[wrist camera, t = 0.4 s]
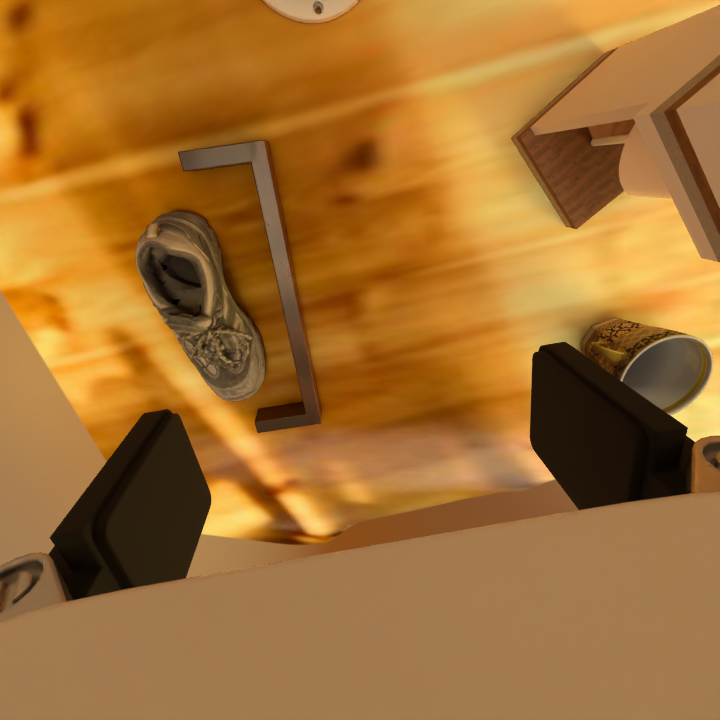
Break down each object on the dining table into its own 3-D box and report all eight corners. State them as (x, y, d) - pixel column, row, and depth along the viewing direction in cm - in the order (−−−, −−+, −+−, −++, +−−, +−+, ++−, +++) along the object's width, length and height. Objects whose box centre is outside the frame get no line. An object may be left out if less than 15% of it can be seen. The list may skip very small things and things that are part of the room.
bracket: (187, 153, 39) (177, 151, 36) (268, 141, 39) (264, 139, 37) (261, 419, 52) (257, 433, 49) (321, 410, 52) (321, 423, 50)
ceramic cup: (661, 322, 51) (734, 355, 42) (612, 388, 54) (669, 431, 45) (578, 283, 48) (638, 309, 39) (532, 355, 51) (576, 395, 42)
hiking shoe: (197, 409, 48) (220, 441, 38) (113, 232, 42) (114, 213, 31) (268, 377, 52) (306, 397, 42) (201, 209, 46) (228, 186, 35)
